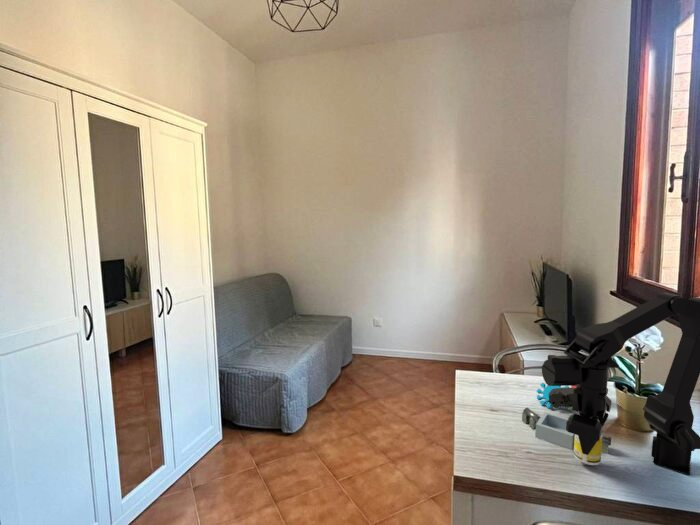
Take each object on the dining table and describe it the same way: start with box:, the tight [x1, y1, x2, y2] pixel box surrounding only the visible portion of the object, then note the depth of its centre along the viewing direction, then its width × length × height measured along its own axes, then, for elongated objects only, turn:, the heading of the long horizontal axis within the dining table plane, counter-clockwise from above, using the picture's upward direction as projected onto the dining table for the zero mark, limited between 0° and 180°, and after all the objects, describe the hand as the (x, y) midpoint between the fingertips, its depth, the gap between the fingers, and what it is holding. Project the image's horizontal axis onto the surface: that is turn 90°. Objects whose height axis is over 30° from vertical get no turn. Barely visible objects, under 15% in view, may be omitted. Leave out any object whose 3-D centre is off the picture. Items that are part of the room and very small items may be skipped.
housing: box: [534, 411, 575, 450], centre depth 99 cm, size 8×8×4 cm
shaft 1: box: [521, 407, 541, 430], centre depth 105 cm, size 6×3×4 cm, turn 14°
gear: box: [536, 382, 573, 412], centre depth 116 cm, size 11×6×10 cm
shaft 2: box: [601, 434, 612, 454], centre depth 95 cm, size 7×3×4 cm, turn 59°
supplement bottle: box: [573, 420, 603, 466], centre depth 88 cm, size 5×5×10 cm
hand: (587, 448), depth 88 cm, fingers closed on supplement bottle, 5 cm apart
